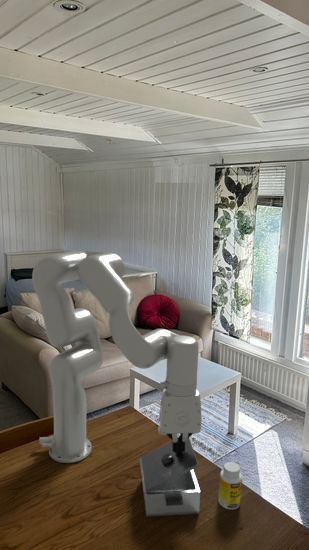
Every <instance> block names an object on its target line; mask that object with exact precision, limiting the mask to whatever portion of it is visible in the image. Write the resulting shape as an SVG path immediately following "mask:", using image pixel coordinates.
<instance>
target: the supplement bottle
mask: <svg viewBox="0 0 309 550" xmlns="http://www.w3.org/2000/svg"><path fill="white" fill-rule="evenodd" d="M242 485H243V474H242V472H241V468H240V465H239V464H237V463H236V462H233V461H228V462H225V463H224V465H223V469H221V471H220V473H219V487H218V489H219V490H218V499H217V500H218V503H219V505H220V506H221V507H223V508H225V509H227V510H236V509H238V508H239V507H240V505H241V501H242V500H241V499H242V488H243V486H242Z"/></svg>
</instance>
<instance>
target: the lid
mask: <svg viewBox="0 0 309 550" xmlns="http://www.w3.org/2000/svg"><path fill="white" fill-rule="evenodd" d="M190 438H191V437H189V438H188V439H187V441H186V442H185V452H183V457H180V456H178V457H176V454H175V452H173V450H172V444H173V441H170V442H168V443H167V444H165V445H163V446H161V447H159V448H157V449H156V450H153V451H151V452H149V453H147V454H146V455H143V456H142V457H139V465H140V473H141V482H143V484H142V491H144V492H143V495H144V494H146V493H148V492H150V491H152V490H154V489H155V488H157V487H159V486H161V485H163V484H165V483H167V482H169V481H171V480H173V479H175V478H177V477H179V476H181V475H183V474H185V473H187V472H188V471H190V470H192V469H193V470H194V469H196V468H198V467H199V466H200V465H199V462H198V459H197V457H196V454H195V451H194V450H195V449H194V447H193V445H192V441H191V440H190Z"/></svg>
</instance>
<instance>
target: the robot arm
mask: <svg viewBox="0 0 309 550" xmlns="http://www.w3.org/2000/svg"><path fill="white" fill-rule="evenodd" d="M125 271H126V266H125V263H124V261H123V259H122V258H121V257H120V256H119V255H118V254H117V253H113V252H110V251H109V252H108V251H106V252H105V251H93V250H83V249H82V250H73V251H67V252H65V251H64V252H58V253H52V254H48V255H45V256H43V257H42V258H41V259H39V260H38V261H37V262H36V263H35V265H34V266H33V270H32V275H31V277H32V278H31V279H32V284H33V285H32V286H33V289H34V290H35V293H36V295H37V298H38V301H39V304H40V309H41V314H42V318H43V323H44V328H45V333H46V336H47V339H48V342H49V343H50V345H51V346H52V347H54V348H59V349H60V348H65V347H67V346H71V345H73V344H74V345H75V346H73V347H69V348H68V349H66V350H63V351H61V352H60V353H58V354H57V355H55V356H54V357H53V358H52V359H51V360H50V363H49V365H48V372H49V377H50V381H51V387H52V401H53V402H52V403H53V405H52V406H53V435H50V436H49V437H46V436H42V437H41V436H39V440H38V441H39V442H38V443H39V445H41V448H42V449H43V448H44V449H46V448H48V454H49V456H50V458H51V459H52V460H54V461H56V462H58V463H63V464H64V463H66V464H70V463H72V464H73V463H77V462H80V461H82V460H83V459H85V458H87V457H88V456H89V455H90V454H91V452H92V442H91V441H90V440H89V439H88V438H87V393H86V390H85V388H84V386H83V385H82V380H83V379H85V378H87V377H88V376H90V375H92V374H93V373H95V372H97V371H98V370H99V369H101V367H102V365H103V362H104V352H103V348H102V344H101V339H100V334H99V330H98V324H97V321H96V319H95V316H94V315H93V314H92V312H90V311H89V310H88V309H86V308H83V307H82V308H81V307H77V308H74V309H73V306H72V302H71V298H70V295H69V294H68V292H67V290H66V289H65V288H64V287H63V286H62V284H64V283H69V282H74V281H79V280H80V281H81V282H82V284H83V285H84V286H85V287H86V288H87V290H88V291H89V292H90V293H91V295H92V296H93V297H94V299H95V300H96V301H97V302H98V303H99V305H100V306H101V307H102V308H103V309H104V311H105V312H106V313H107V315H108V325H109V330H110V334H111V337H112V340H113V342H114V344H115V345H116V347H117V348H118V350H120V352H121V353H122V354H123V356H124V357H125V358H126V359H127V360H128V362H129V363H131V365H133V366H135V367H136V368H139V369H141V370H142V369H143V370H145V369H150V368H152V367H153V366H155V365H157V364H158V363H160V362H161V361H164V360H166V374H165V375H166V376H165V380H164V381H161V382H160V384H159V385H160V386H159V387H160V388H161V389H163V390H162V395H161V400H160V406H159V416H158V418H159V420H158V421H159V425H158V428H157V431H158V434H160V435H162V436H163V435H164V436H167V437H168V438H170V439H171V440H172V442H173V444H172V450H173V452H175V454H176V457H178V456H180V457H183V452H185V442H186V441H187V439H188V438H191V436H192V435H195V434H199V433H201V431H202V401H201V394H200V392H199V390H198V389H197V385H198V384H197V383H198V365H199V342H198V340H197V339H196V338H194V337H192V336H188V335H180V334H178V333H175V332H172V331H170V330H168V329H165V328H156V329H154V330H152V331H150V332H146V333H145V334H144V335H142V334H141V333H140V332H139V330H138V329H137V328H136V327H135V325H134V323H133V322H132V320H131V317H130V307H131V305H132V303H133V301H134V298H135V296H134V293H133V291H132V290H131V289H130V288H129V286H128V285H127V284H126V283H125V282H124V280H123V277H124V275H125ZM178 434H179V435H178Z"/></svg>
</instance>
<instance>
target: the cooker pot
mask: <svg viewBox="0 0 309 550" xmlns="http://www.w3.org/2000/svg"><path fill="white" fill-rule="evenodd" d="M141 482H142V481H141ZM141 484H142V485H143V482H142V483H141ZM142 491H143V490H142ZM143 499H144V507H145V508H144V509H145V515H146V516H145V517H147V518H148V517H162V516H163V517H164V516H177V515H178V516H180V515H195V514H198V515H199V514H200V505H201V504H200V503H201V489H200V486H199V483H198V480H197V477H196V474H195V471H194V469H192V470H190V471H188V472H187V473H185V474H183V475H181V476H179V477H177V478H175V479H173V480H171V481H169V482H167V483H165V484H163V485H161V486H159V487H157V488H155V489H154V490H152V491H150V492H148V493H146V494H144V491H143Z"/></svg>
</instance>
